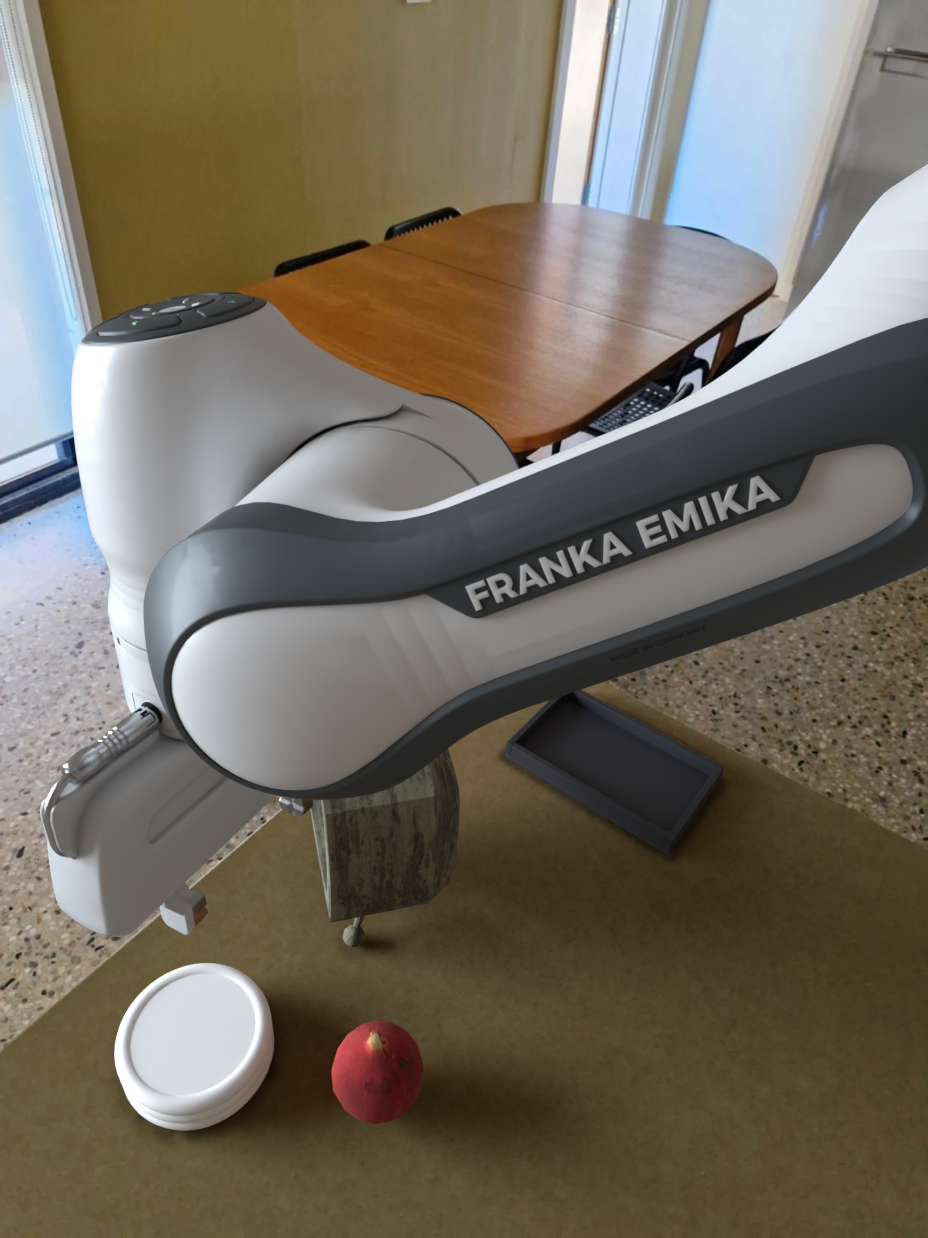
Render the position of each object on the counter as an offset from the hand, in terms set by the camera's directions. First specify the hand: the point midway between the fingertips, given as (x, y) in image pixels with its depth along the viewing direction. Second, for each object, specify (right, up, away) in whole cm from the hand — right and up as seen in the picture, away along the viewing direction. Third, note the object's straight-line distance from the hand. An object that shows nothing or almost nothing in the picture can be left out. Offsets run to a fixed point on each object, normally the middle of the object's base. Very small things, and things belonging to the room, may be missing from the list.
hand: (246, 860), depth 49 cm
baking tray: (+26, -1, +34) cm, 43 cm away
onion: (+6, -19, +10) cm, 22 cm away
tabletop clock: (+5, -8, +23) cm, 25 cm away
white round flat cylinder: (-6, -17, +12) cm, 21 cm away
